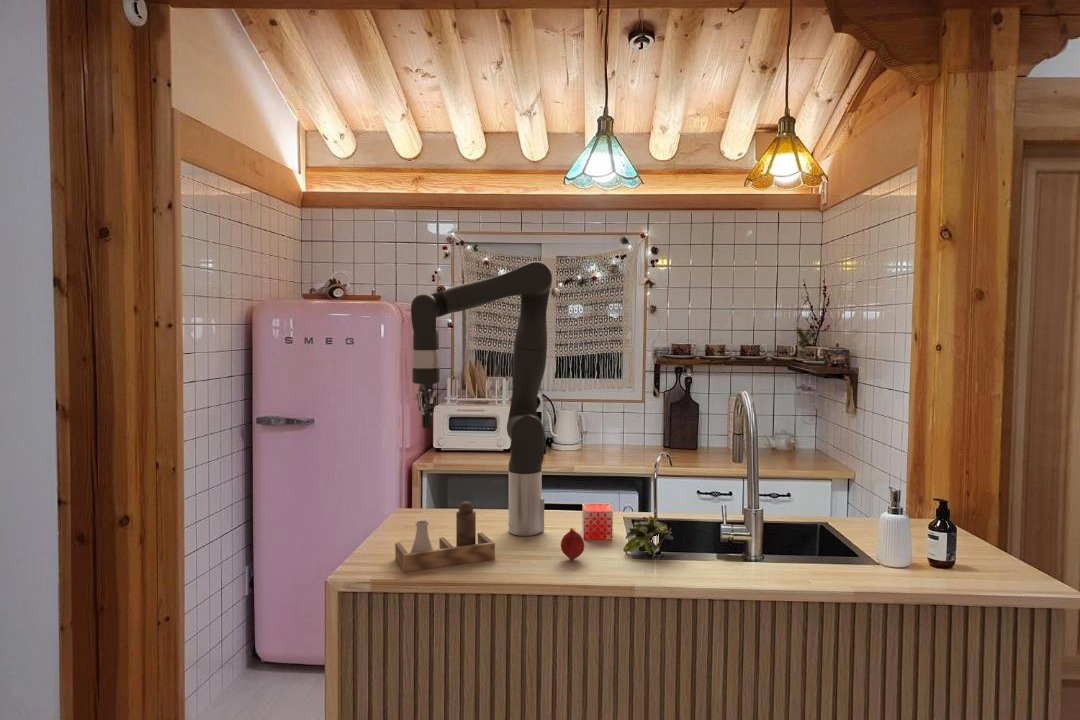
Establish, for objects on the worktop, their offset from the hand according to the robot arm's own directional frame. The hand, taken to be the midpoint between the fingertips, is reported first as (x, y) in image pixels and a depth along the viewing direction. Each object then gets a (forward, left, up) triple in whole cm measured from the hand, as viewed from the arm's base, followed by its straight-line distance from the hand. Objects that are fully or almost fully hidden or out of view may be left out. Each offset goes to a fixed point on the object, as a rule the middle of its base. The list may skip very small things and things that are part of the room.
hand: (426, 427), depth 195 cm
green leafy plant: (-47, +42, -29) cm, 69 cm away
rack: (+2, +25, -29) cm, 38 cm away
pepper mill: (-4, +25, -29) cm, 38 cm away
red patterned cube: (-42, +23, -29) cm, 56 cm away
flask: (+8, +25, -29) cm, 39 cm away
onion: (-27, +38, -29) cm, 55 cm away
